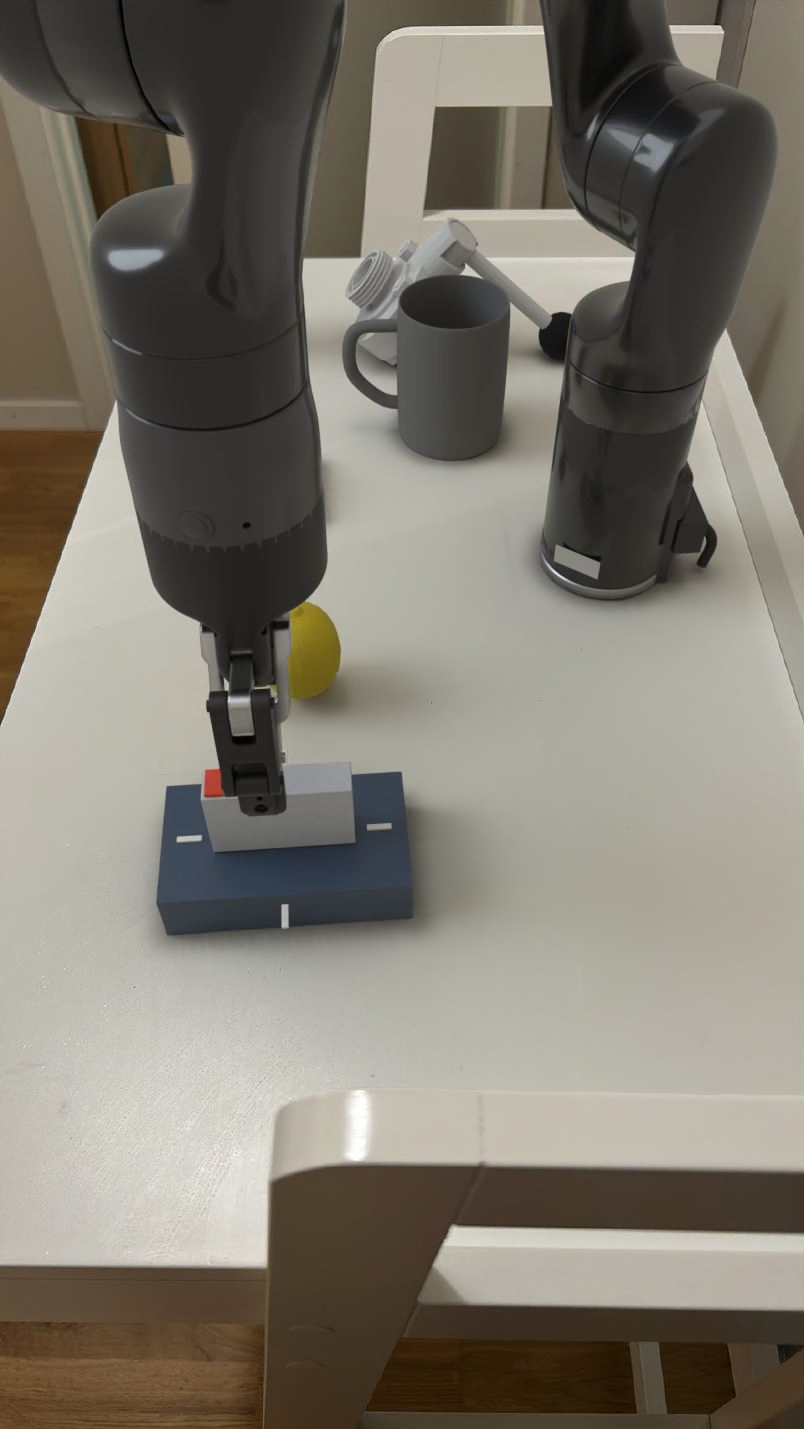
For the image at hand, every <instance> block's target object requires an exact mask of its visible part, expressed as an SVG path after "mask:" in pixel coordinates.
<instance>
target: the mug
mask: <svg viewBox="0 0 804 1429" xmlns="http://www.w3.org/2000/svg"><path fill="white" fill-rule="evenodd" d="M355 322H356V321H355ZM355 322H354V323H352V324H351V325H349V327H348V328H347V330H346V331H345V333H344V336H343V340H342V345H341V352H342V353H341V358H342V365H343V370H344V373H345V375H346V377H347V380H349V383H351V385H352V386H354V388H355V389H356V390H357V391H358V392H360V393H361V394H362V395H364V396H365V398H368V399H369V400H370V401H372V402H373V403H375V404H377V405H379V406H381V407H382V408H387V409H391V410H397V422H398V431H399V435H400V437H401V439H402V442H403V443H404V444H405V445H406V446H407V447H408V448H409V449H410V450H412V451H414V452H415V453H417V454H419V455H422V456H424V457H427V458H429V459H435V460H442V461H460V460H461V461H462V460H466V459H472V458H475V457H477V456H480V455H482V454H484V453H486V452H487V451H489V450H490V449H492V448H493V446H494V445H495V444H496V443H497V441H498V439H499V437H500V435H501V429H502V424H503V417H504V416H503V415H504V406H505V395H506V386H507V385H506V384H507V375H508V374H507V372H508V362H509V346H510V330H511V302H510V301H509V297H508V295H507V294H506V292H505V291H504V290H503V289H502V288H500V287H499V286H498V285H496V284H494V283H492V282H490V281H488V280H485V279H483V278H482V277H478V276H472V275H467V274H460V275H453V274H452V275H438V276H432V277H428V278H424V279H421V280H419V281H416V282H414V283H412V284H411V285H409V286H408V287H407V288H405V289H404V290H403V292H402V293H401V295H400V297H399V301H398V310H397V319H371V320H363V321H359V322H356V323H355ZM393 332H397V363H396V393H397V394H390V393H387V392H385V391H383V390H381V389H379V388H378V387H376V386H375V385H374V384H373V383H372V382H370V381H369V380H368V379H367V378H366V377H365V376H364V375H363V373H362V372H361V371H360V370H359V367H358V363H357V357H356V355H357V345H358V343H357V341H358V339H359V337H360V336H361V335H362V334H365V333H393Z"/></svg>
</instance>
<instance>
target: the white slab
mask: <svg viewBox="0 0 804 1429" xmlns="http://www.w3.org/2000/svg"><path fill="white" fill-rule="evenodd" d="M283 773H284V780H285V788H286V796H287V808H286V810H285V811H284V812H283V813H280V814H278V815H270V816H251V817H248V815H246V814H243V813H242V812H241V810H240V805H239V800H238V797H237V796H236V797H225V795H224V790H222V789H221V774H220V768H210V769H209V768H208V769H205V770H203V771H202V772H201V784H202V787H201V803H202V807H203V811H204V815H205V819H206V823H207V827H208V831H209V835H210V839H211V843H212V847H213V851H214V852H225V851H240V850H256V849H271V848H286V847H302V846H317V845H332V844H347V843H355V842H356V841H355V823H354V807H353V791H352V775H351V774H352V762H351V761H339V762H323V763H320V762H319V763H308V764H306V763H305V764H292V765H291V764H290V765H288V766H283Z"/></svg>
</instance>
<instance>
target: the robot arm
mask: <svg viewBox="0 0 804 1429" xmlns="http://www.w3.org/2000/svg"><path fill="white" fill-rule="evenodd" d="M538 4H539V8H540V9H539V10H540V16H541V21H542V28H543V36H544V42H545V50H546V59H547V60H546V61H547V69H548V78H549V88H550V98H551V107H552V118H553V126H554V135H555V137H554V138H555V143H556V152H557V159H558V165H559V170H560V176H561V178H562V179H561V180H562V183H563V187H564V190H565V193H566V195H567V197H568V199H569V201H570V203H571V205H572V207H573V208H574V210H575V211H576V212H577V214H578V215H579V216H580V217H581V218H582V219H583V220H584V221H585V222H586V223H587V224H589V225H590V226H591V227H592V228H593V229H595V231H598V232H599V233H601V234H603V235H605V236H606V237H608V238H610V239H612V240H613V241H614V242H615V241H616V242H617V243H619V244H620V245H622V246H623V247H625V248H627V249H628V250H630V251H632V252H634V259H633V264H632V268H631V269H632V270H631V274H630V277H629V280H625V281H620V282H615V283H611V284H606V285H604V286H601V287H598V288H596V289H594V290H591V291H590V292H587V294H585V295H584V296H583V297H582V298H581V299H579V301H578V302H577V304H576V305H575V306H574V309H573V311H572V313H571V314H572V316H571V320H570V326H569V333H568V340H567V348H566V356H565V358H564V365H563V373H562V380H561V388H560V389H561V390H560V397H559V405H558V413H557V421H556V428H555V435H554V436H555V437H554V443H553V444H554V445H553V451H552V460H551V467H550V474H549V475H550V476H549V483H548V490H547V497H546V498H547V499H546V505H545V506H546V507H545V514H544V523H543V527H542V532H541V538H540V543H539V551H538V556H539V561H540V565H541V567H542V569H543V570H544V572H545V573H546V574H547V576H548V577H549V578H550V579H551V580H552V581H553V582H554V583H555V584H557V585H559V586H560V587H562V588H563V589H566V590H567V591H570V592H572V593H575V594H577V595H581V596H585V597H587V598H592V599H593V598H594V599H601V600H602V599H604V600H615V599H622V598H623V599H625V598H628V597H631V596H635V595H637V594H640V593H642V592H644V591H646V590H648V589H649V588H651V587H652V586H653V585H654V584H656V583H665V582H668V581H669V579H670V575H671V572H672V569H673V568H672V567H673V563H674V560H675V555H678V554H679V555H681V554H700V555H699V557H698V558H697V561H696V563H695V565H696V566H697V567H699V568H703V569H704V568H707V566H708V564H709V562H710V560H711V559H712V557H713V555H714V553H715V551H716V549H717V546H718V536H717V532H716V530H715V529H714V527H713V526H712V525H711V524H710V523H709V521H708V518H707V515H706V513H705V511H704V508H703V506H702V504H701V502H700V499H699V496H698V494H697V492H696V490H695V487H694V473H693V470H692V468H691V466H690V463H689V460H688V458H689V455H690V451H691V446H692V441H693V438H694V434H695V429H696V426H697V421H698V417H699V413H700V408H701V405H702V400H703V396H704V393H705V388H706V384H707V380H708V375H709V371H710V368H711V364H712V362H713V357H714V353H715V350H716V347H717V345H718V343H719V342H720V339H721V338H722V336H723V335H724V333H725V331H726V329H727V327H728V325H729V324H730V321H731V320H732V318H733V316H734V313H735V311H736V309H737V305H738V303H739V301H740V297H741V294H742V293H741V292H742V289H743V286H744V283H745V280H746V276H747V273H748V270H749V267H750V264H751V260H752V258H753V254H754V251H755V248H756V244H757V241H758V238H759V235H760V232H761V229H762V226H763V222H764V219H765V216H766V213H767V210H768V207H769V203H770V198H771V196H772V191H773V187H774V183H775V179H776V174H777V169H778V168H777V167H778V159H779V134H778V128H777V123H776V121H775V117H774V115H773V113H772V112H771V110H770V109H769V108H768V106H767V105H766V104H764V102H762V101H761V100H759V99H758V98H756V97H754V96H753V95H751V94H749V93H746V92H745V91H742V90H740V89H738V88H735V87H733V86H731V85H729V84H726V83H723V82H722V81H720V80H719V81H718V80H717V79H714V78H711V77H710V76H707V75H705V74H703V73H700V72H698V71H695V70H693V69H691V68H689V67H687V66H685V65H684V64H683V63H682V61H681V59H680V58H679V56H678V53H677V51H676V48H675V45H674V41H673V37H672V36H673V35H672V31H671V27H670V22H669V15H668V8H667V6H668V5H667V0H538ZM347 19H348V0H0V78H1V79H2V80H3V81H4V82H5V83H6V84H7V85H8V86H9V87H10V88H11V89H12V90H14V91H15V92H16V93H18V94H19V95H20V96H22V97H23V98H25V99H27V100H28V101H30V102H31V103H33V104H35V105H38V106H39V107H42V108H45V109H47V110H50V111H52V112H55V113H59V114H62V115H66V116H71V117H77V118H79V119H85V120H91V121H97V122H102V123H106V124H107V123H108V124H116V125H121V126H124V127H125V126H126V127H130V128H136V129H139V130H140V129H141V130H145V131H150V132H156V133H160V134H164V135H165V134H166V135H170V136H175V137H180V138H185V141H186V144H187V146H188V151H189V158H190V164H191V166H190V167H191V178H190V180H191V181H190V182H185V183H176V184H171V185H165V186H160V187H153V188H149V189H146V190H142V191H139V192H136V193H133V194H131V195H129V196H125V197H124V198H122V199H121V200H119V201H117V202H116V203H114V204H113V205H112V206H111V207H109V208H108V209H106V210H105V211H104V212H103V214H102V215H101V216H100V217H99V219H98V220H97V221H96V223H95V224H94V227H93V229H92V231H91V234H90V239H89V245H88V253H87V260H88V261H87V262H88V270H89V277H90V283H91V289H92V294H93V298H94V304H95V309H96V313H97V319H98V323H99V328H100V332H101V335H102V340H103V345H104V349H105V353H106V358H107V362H108V367H109V371H110V376H111V380H112V384H113V388H114V394H115V400H116V408H117V421H118V422H117V423H118V434H119V443H120V444H119V445H120V449H121V453H122V459H123V463H124V467H125V473H126V475H127V481H128V486H129V488H130V493H131V498H132V503H133V506H134V510H135V516H136V519H137V523H138V528H139V533H140V536H141V540H142V546H143V550H144V553H145V554H144V555H145V559H146V562H147V567H148V572H149V575H150V579H151V582H152V585H153V586H154V589H155V591H156V592H157V594H158V596H160V598H161V599H162V600H163V601H164V603H166V604H167V605H168V606H169V607H171V608H172V609H173V610H174V611H176V612H178V613H180V614H182V615H183V616H185V617H187V618H190V619H192V620H194V621H196V622H198V623H199V643H200V644H199V645H200V653H201V654H200V655H201V658H202V659H203V661H204V662H205V663H206V665H207V671H208V683H209V692H208V699H206V701H205V710H206V713H208V714H209V719H210V725H211V730H212V736H213V740H214V741H213V742H214V746H215V751H216V757H217V762H218V767H219V768H218V769H220V774H221V789H222V790H224V795H225V797H236V796H237V797H238V800H239V805H240V810H241V812H242V813H243V814H246V815H248V817H251V816H270V815H278V814H280V813H283V812H284V811H285V810H286V808H287V796H286V788H285V780H284V773H283V763H286V755H285V752H282V750H283V738H282V737H283V736H282V723H284V722H286V721H287V720H288V719H289V717H290V713H291V708H292V707H291V704H292V703H291V698H290V687H289V671H288V657H289V656H290V654H291V651H292V647H293V645H292V628H291V616H290V611H291V610H293V609H294V608H296V607H298V606H299V605H300V604H302V603H303V602H304V601H306V602H307V600H308V599H310V597H311V596H312V595H313V594H314V593H315V591H316V590H317V589H318V588H319V586H320V585H321V584H322V581H323V579H324V577H325V574H326V572H327V568H328V561H329V553H328V552H329V551H328V536H327V521H326V508H325V507H326V506H325V505H326V504H325V488H324V474H323V457H322V441H321V440H322V439H321V430H320V422H319V416H318V410H317V404H316V400H315V397H314V392H313V389H312V383H311V376H310V366H309V365H310V364H309V351H308V350H309V349H308V337H307V336H308V335H307V320H306V308H305V293H304V292H305V290H304V282H303V270H304V260H305V251H306V242H307V237H308V236H307V235H308V228H309V221H310V215H311V207H312V200H313V195H314V189H315V182H316V177H317V172H318V166H319V165H318V164H319V159H320V154H321V149H322V144H323V140H324V135H325V130H326V126H327V121H328V118H329V113H330V109H331V104H332V101H333V100H332V99H333V96H334V91H335V86H336V83H337V77H338V73H339V69H340V65H341V60H342V53H343V47H344V42H345V35H346V28H347ZM704 540H705V545H704V548H703V550H702V547H703V544H704ZM225 681H227V682H228V689H227V690H225ZM269 685H276V688H277V692H276V697H275V696H272V690H271V689H272V688H271V687H269ZM267 686H268V687H269V688H265V687H267Z"/></svg>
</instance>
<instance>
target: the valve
mask: <svg viewBox="0 0 804 1429" xmlns="http://www.w3.org/2000/svg"><path fill="white" fill-rule="evenodd" d="M478 246H479V241H478V240H477V237H476V236H475V235H474V234H473V232H472V231H471V229H470V228H469V227H468V226H467V225H466V224H465V223H464V222H462V220H460V219H457V218H455V217H447V218H445V219H444V220H443V222H442V223H440V225H439V226H438V227H437V228H436V229H435V230H434V231H433V232H432V234H431V235H429V237H428V238H427V239H426V240H425V241H424V242H423V243H420V242H419V243H416V242H414V241H413V240H412V239H411V238H407V239H406V240H405V241H404V242H403V243H402V244H401V245H400V247H399V250H398V251H397V257H396V258H395V259H394V258H393V257H391V256H390V254H388V253H387V252H386V251H384V250H383V248H376V249H373V250H372V251H371V252H369V253H368V254H367V256H365V258H363V260H362V261H361V262H360V263H359V265H358V267H356V269H355V270H354V272H353V273H352V275H351V277H350V279H349V281H348V283H347V285H346V287H345V292H344V297H345V298H346V299H348V300H349V301H350V302H351V303H353V304H355V306H357V307H358V308H359V312H358V314H357V316H356V319H355V322H354V323H356V322H359V321H363V320H371V319H397V310H398V301H399V297H400V295H401V293H402V292H403V290H404V289H405V288H407V287H408V286H409V285H411V284H412V283H414V282H416V281H419V280H421V279H424V278H428V277H432V276H438V275H452V274H453V275H462V273H463V272H464V271H465V269H466V265H467V266H468V267H469V268H470V269H471V270H473V272H475V273H476V275H478V276H480V278H482V279H485V280H488V281H490V282H492V283H494V284H496V285H498V286H499V287H500V288H502V289H503V290H504V291H505V292H506V294H507V295H508V297H509V301H510V304H512V305H513V306H514V307H515V308H516V309H517V310H518V311H520V313H522V314H523V315H524V316H525V317H527V319H529V321H531V322H532V323H534V325H536V326H537V327H538V328H539V330H538V334H537V336H538V344H539V346H540V348H541V349H542V351H543V353H544V354H545V355H547V356H549V357H551V358H552V359H557V360H562V359H565V356H566V348H567V340H568V333H569V326H570V320H571V316H572V313H570V312H566V311H558V312H553V313H552V314H550V313H549V312H547V311H546V309H544V308H543V307H542V306H541V305H539V303H537V302H536V301H535V300H534V299H533V297H531V296H529V295H528V293H526V292H525V291H524V290H523V289H522V288H520V287H519V286H518V285H517V283H515V282H513V281H512V280H511V279H510V278H509V277H508V276H507V275H506V274H505V273H503V271H501V270H500V269H499V268H498V267H496V265H495V264H494V263H492V262H491V261H490V260H489V259H487V258H486V257H485V256H484V255H483V254H482V253H481V252H480V251H479V250H477V247H478ZM357 344H358V345H360V346H361V347H362V348H364V350H366V351H368V352H369V353H370V354H372V355H373V356H374V357H376V358H377V359H378V360H380V361H385V362H386V363H388V364H389V365H391V366H395V365H397V332H393V333H365V334H362V335H361V336H360V337H359V339H358V341H357Z"/></svg>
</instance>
